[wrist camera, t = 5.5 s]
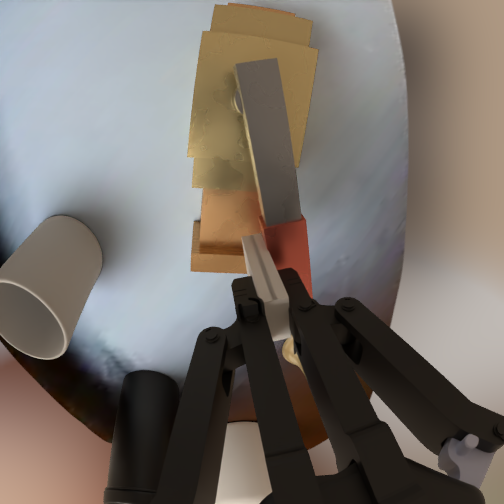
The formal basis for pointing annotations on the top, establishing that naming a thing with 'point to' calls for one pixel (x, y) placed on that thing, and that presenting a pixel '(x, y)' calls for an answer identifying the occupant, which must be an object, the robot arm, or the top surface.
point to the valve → (240, 124)
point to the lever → (273, 164)
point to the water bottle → (141, 437)
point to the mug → (48, 286)
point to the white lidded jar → (243, 466)
